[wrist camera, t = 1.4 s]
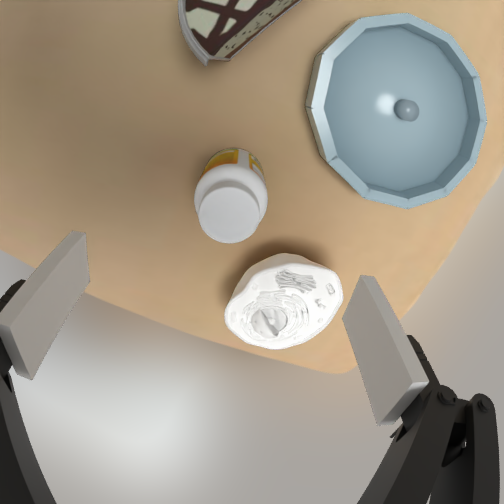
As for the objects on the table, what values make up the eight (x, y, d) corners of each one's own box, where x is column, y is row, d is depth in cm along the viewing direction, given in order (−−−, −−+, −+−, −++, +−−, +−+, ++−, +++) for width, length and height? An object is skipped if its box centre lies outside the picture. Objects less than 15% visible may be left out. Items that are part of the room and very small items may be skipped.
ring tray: (327, -6, 20) (336, -15, 18) (481, 63, 22) (498, 65, 20) (289, 174, 29) (293, 183, 26) (442, 211, 31) (455, 222, 28)
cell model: (347, 288, 35) (363, 328, 29) (257, 331, 38) (259, 374, 32) (308, 217, 31) (323, 251, 25) (208, 272, 34) (200, 314, 28)
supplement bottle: (197, 192, 29) (177, 238, 21) (216, 138, 27) (201, 164, 19) (250, 210, 31) (252, 263, 22) (272, 159, 28) (284, 194, 20)
